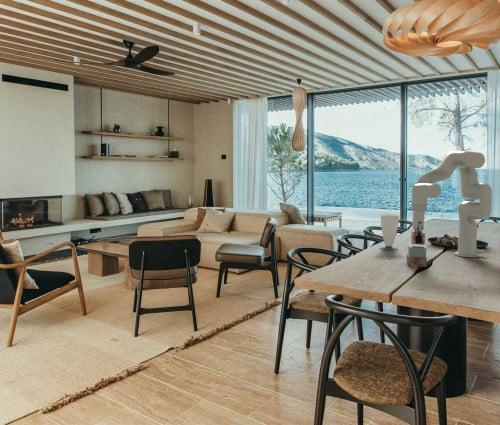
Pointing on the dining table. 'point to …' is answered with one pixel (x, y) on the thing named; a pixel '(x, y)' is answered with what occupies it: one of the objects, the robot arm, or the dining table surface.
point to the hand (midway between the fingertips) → (417, 241)
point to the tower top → (417, 251)
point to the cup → (389, 230)
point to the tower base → (416, 261)
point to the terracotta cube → (415, 238)
